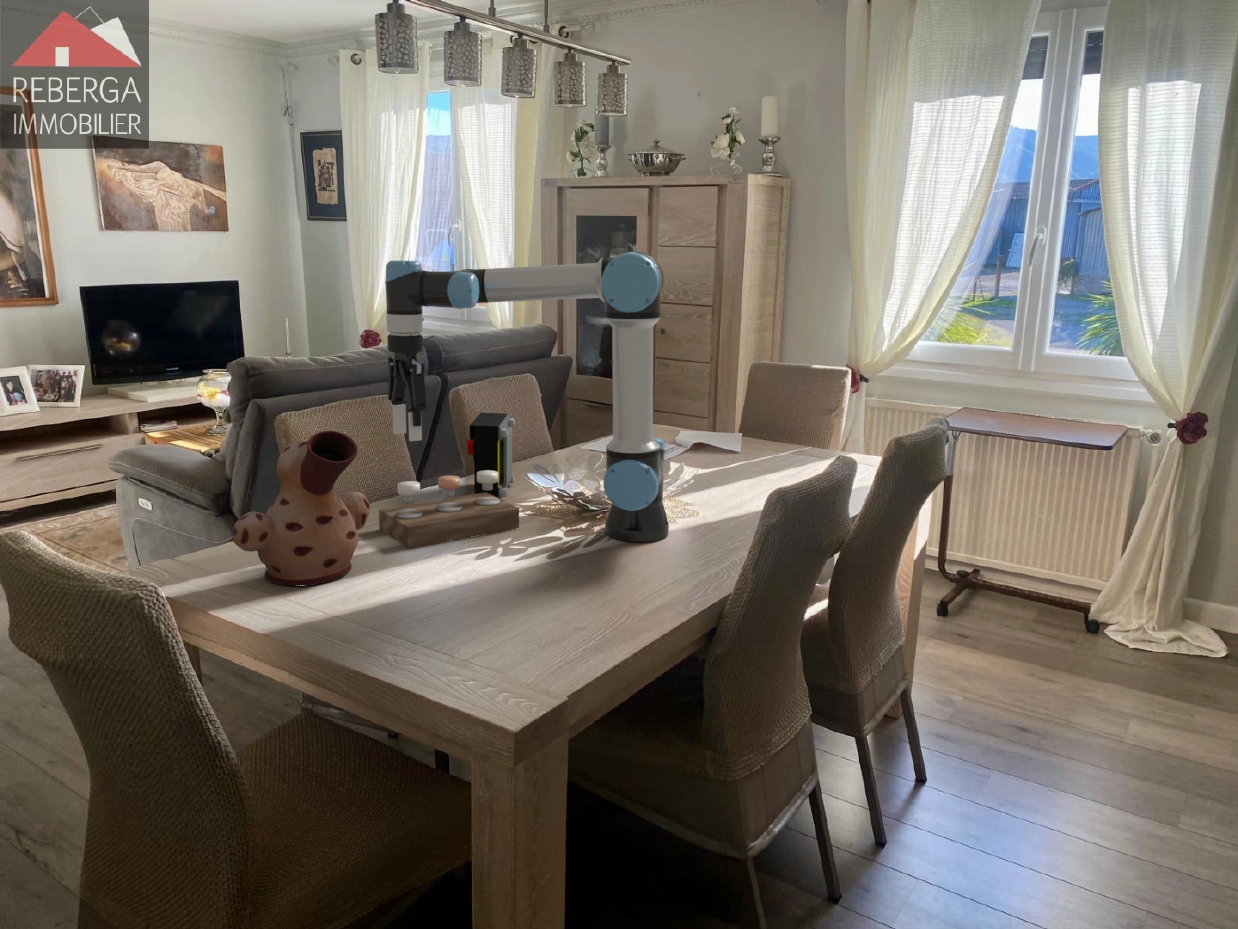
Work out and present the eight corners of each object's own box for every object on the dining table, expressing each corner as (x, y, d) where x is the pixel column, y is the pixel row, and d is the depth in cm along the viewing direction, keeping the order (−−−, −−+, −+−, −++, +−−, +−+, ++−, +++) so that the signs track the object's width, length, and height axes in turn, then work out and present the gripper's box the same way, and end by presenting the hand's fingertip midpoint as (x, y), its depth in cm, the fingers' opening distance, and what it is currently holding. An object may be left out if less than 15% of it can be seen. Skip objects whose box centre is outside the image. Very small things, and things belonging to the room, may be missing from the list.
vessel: (332, 545, 203) (326, 411, 196) (408, 566, 192) (404, 424, 185) (217, 584, 179) (205, 433, 171) (296, 610, 168) (287, 450, 160)
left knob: (424, 502, 208) (423, 485, 207) (403, 505, 205) (402, 488, 204) (414, 496, 212) (414, 480, 211) (394, 500, 209) (393, 482, 208)
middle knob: (464, 496, 214) (463, 479, 213) (444, 499, 211) (444, 482, 210) (454, 491, 218) (454, 474, 217) (434, 493, 215) (434, 477, 214)
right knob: (501, 490, 220) (501, 473, 219) (483, 493, 217) (483, 476, 216) (491, 485, 224) (491, 469, 223) (473, 488, 221) (473, 471, 220)
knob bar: (519, 528, 218) (519, 506, 217) (408, 548, 202) (407, 525, 201) (486, 511, 231) (486, 490, 229) (379, 529, 214) (378, 506, 213)
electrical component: (506, 502, 240) (506, 426, 235) (467, 500, 240) (466, 425, 235) (515, 484, 257) (515, 413, 252) (478, 483, 257) (478, 412, 252)
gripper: (442, 337, 194) (443, 443, 199) (401, 328, 210) (404, 427, 215) (408, 339, 189) (411, 447, 195) (370, 329, 205) (373, 430, 211)
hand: (407, 436), depth 205 cm, fingers open, 8 cm apart
